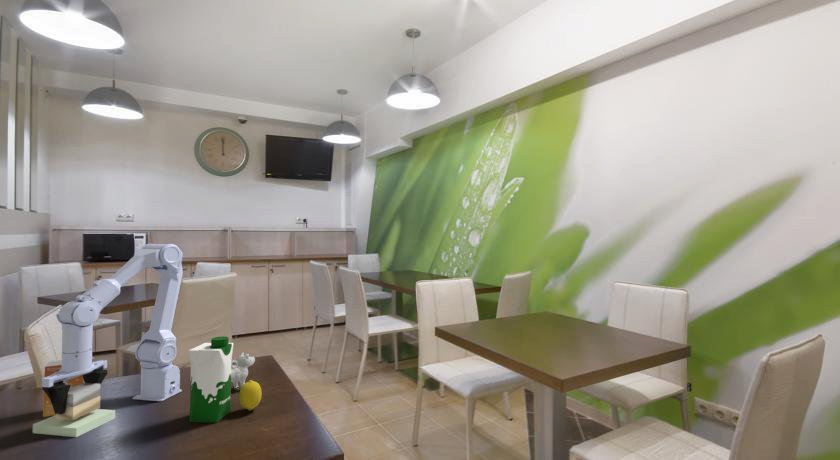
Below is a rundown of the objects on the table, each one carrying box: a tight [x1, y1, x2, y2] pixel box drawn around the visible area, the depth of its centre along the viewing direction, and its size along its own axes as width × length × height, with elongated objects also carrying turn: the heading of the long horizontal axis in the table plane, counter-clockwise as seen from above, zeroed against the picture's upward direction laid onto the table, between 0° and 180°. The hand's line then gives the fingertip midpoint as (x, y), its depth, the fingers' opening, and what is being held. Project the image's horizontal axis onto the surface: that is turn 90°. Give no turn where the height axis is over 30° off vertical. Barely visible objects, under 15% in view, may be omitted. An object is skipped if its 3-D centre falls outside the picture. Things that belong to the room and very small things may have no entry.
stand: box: [32, 408, 116, 438], centre depth 99 cm, size 12×10×2 cm
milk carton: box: [188, 336, 234, 423], centre depth 105 cm, size 9×9×20 cm
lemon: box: [238, 379, 263, 411], centre depth 108 cm, size 6×6×8 cm
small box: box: [42, 359, 84, 418], centre depth 108 cm, size 8×6×13 cm
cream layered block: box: [56, 383, 102, 420], centre depth 99 cm, size 4×7×6 cm, turn 172°
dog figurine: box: [231, 352, 256, 389], centre depth 123 cm, size 5×13×11 cm, turn 148°
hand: (75, 406), depth 99 cm, fingers closed on cream layered block, 7 cm apart
